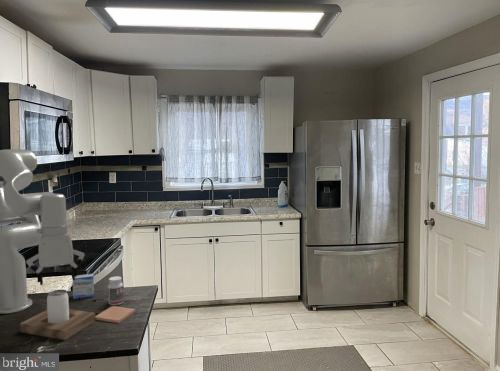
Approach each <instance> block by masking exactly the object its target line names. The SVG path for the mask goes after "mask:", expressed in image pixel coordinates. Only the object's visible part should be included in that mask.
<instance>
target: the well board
mask: <svg viewBox="0 0 500 371" xmlns="http://www.w3.org/2000/svg"><path fill="white" fill-rule="evenodd" d="M95 316H96V312H92V311H91V312H90V311H84V310H78V309H77V310H76V309H70V308H69V319H68V320H67V321H65V322H63V323H61V324H60V325H58V324H52V323H48V313H47V309H46V310H44V311H42V312H40V313H38V314H36V315H34V316H32V317H31V318H28V319H26V320H25V321H22V322H21V323H20V324H19V327H20V329H19V330H20V333H23V334H29V335H35V336H40V337H45V338H46V337H47V338H51V339H56V340H63V341H66V340H68V339H69V338H71V337H72V336H74V335H76V334H77V333H79V332H80V331H82V330H83V329H85V328H86V327H87V328H88V326H90V325H92V324H93V323H94V322H96V320H95Z"/></svg>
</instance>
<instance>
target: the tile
mask: <svg viewBox="0 0 500 371" xmlns="http://www.w3.org/2000/svg"><path fill="white" fill-rule="evenodd" d="M134 313H136V309H135V308H129V307H124V306H123V307H122V306H118V305H110V306H109V307H108V308H107V309H105V310H103V311H102V312H99V314H97V315H95V321H101V322H108V323H114V324H120V323H121V322H123V321H124V320H126V319H127V318H129V317H131V315H133V314H134Z"/></svg>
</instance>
